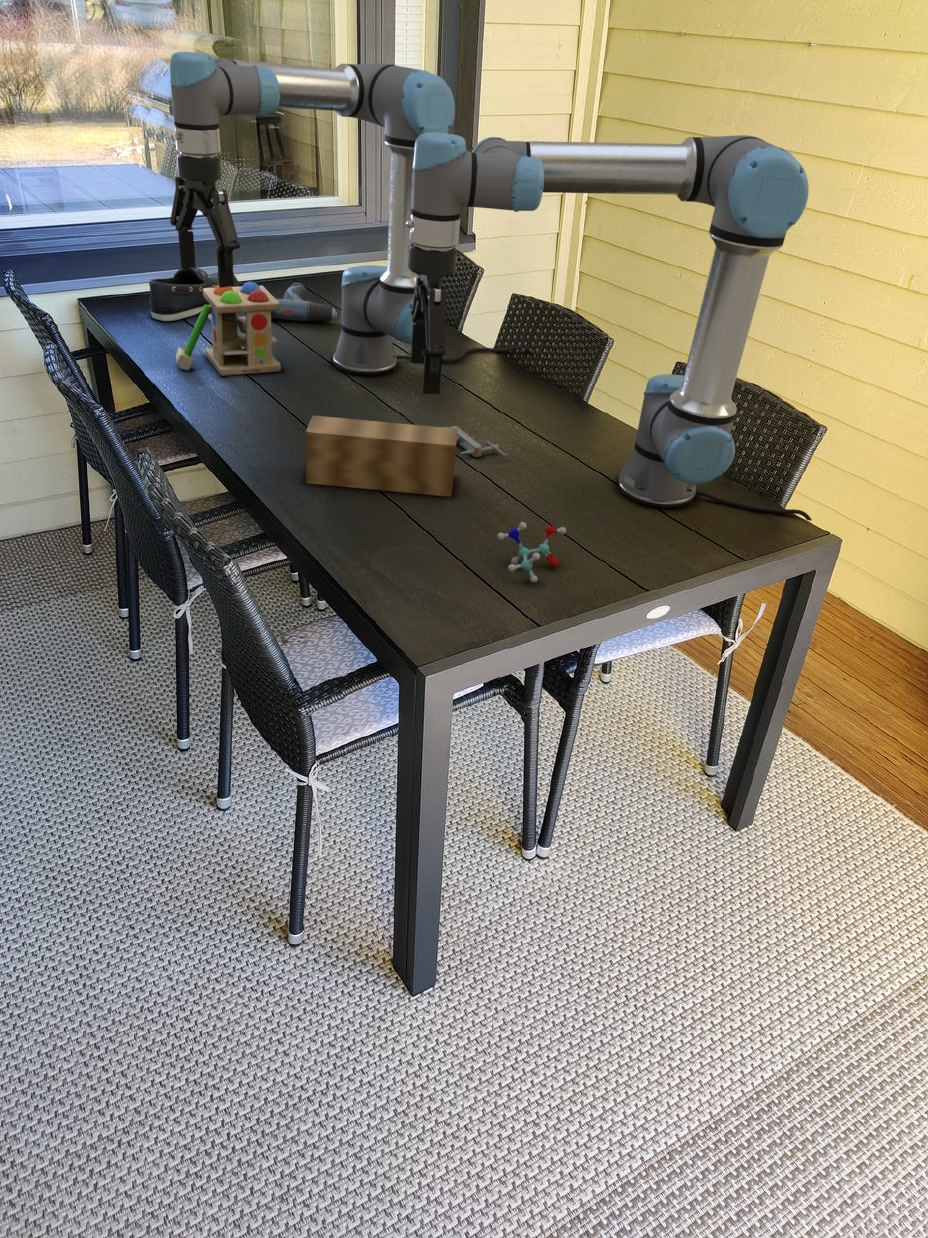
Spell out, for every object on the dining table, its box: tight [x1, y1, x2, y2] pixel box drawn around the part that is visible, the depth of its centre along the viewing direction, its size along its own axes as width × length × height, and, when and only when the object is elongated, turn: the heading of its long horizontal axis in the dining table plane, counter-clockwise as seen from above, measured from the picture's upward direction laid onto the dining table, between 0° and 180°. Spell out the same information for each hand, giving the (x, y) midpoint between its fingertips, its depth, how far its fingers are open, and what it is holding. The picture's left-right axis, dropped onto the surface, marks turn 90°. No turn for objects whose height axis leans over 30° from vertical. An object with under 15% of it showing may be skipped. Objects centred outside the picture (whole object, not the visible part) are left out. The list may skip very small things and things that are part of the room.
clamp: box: [443, 425, 508, 459], centre depth 202 cm, size 15×2×10 cm
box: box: [305, 415, 458, 498], centre depth 185 cm, size 27×8×10 cm, turn 88°
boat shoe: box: [148, 266, 240, 322], centre depth 262 cm, size 13×33×10 cm, turn 147°
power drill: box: [271, 282, 338, 322], centre depth 265 cm, size 5×19×20 cm
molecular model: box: [496, 521, 567, 583], centre depth 163 cm, size 12×10×10 cm
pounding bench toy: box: [174, 281, 282, 377], centre depth 225 cm, size 23×14×18 cm, turn 116°
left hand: (207, 276), depth 185 cm, fingers open, 13 cm apart
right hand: (424, 377), depth 163 cm, fingers open, 13 cm apart
